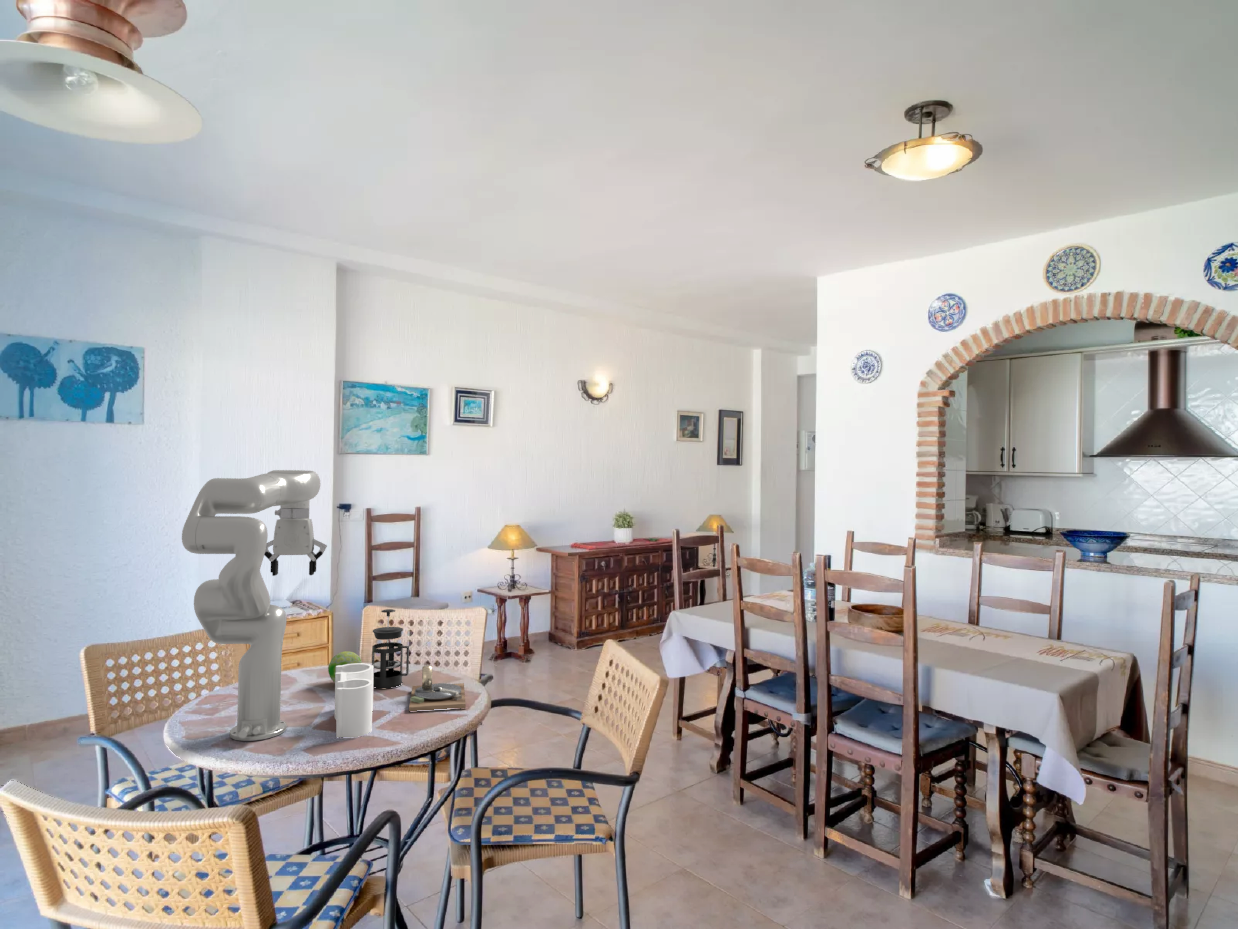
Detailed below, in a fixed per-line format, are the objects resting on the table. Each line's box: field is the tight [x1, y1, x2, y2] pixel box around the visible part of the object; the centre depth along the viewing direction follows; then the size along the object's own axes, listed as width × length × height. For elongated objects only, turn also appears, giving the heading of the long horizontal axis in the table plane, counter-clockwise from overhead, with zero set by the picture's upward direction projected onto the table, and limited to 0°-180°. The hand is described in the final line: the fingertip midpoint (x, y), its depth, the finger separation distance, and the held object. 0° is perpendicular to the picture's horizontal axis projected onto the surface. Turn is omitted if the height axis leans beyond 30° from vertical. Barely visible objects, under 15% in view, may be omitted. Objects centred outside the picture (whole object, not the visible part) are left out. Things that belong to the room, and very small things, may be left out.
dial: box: [415, 664, 461, 701], centre depth 202 cm, size 14×13×7 cm
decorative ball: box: [327, 651, 363, 683], centre depth 216 cm, size 10×10×10 cm
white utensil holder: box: [334, 662, 375, 738], centre depth 184 cm, size 25×10×12 cm, turn 21°
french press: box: [371, 608, 410, 689], centre depth 217 cm, size 12×9×23 cm
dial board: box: [408, 682, 467, 712], centre depth 202 cm, size 20×15×2 cm
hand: (293, 574), depth 199 cm, fingers open, 9 cm apart
